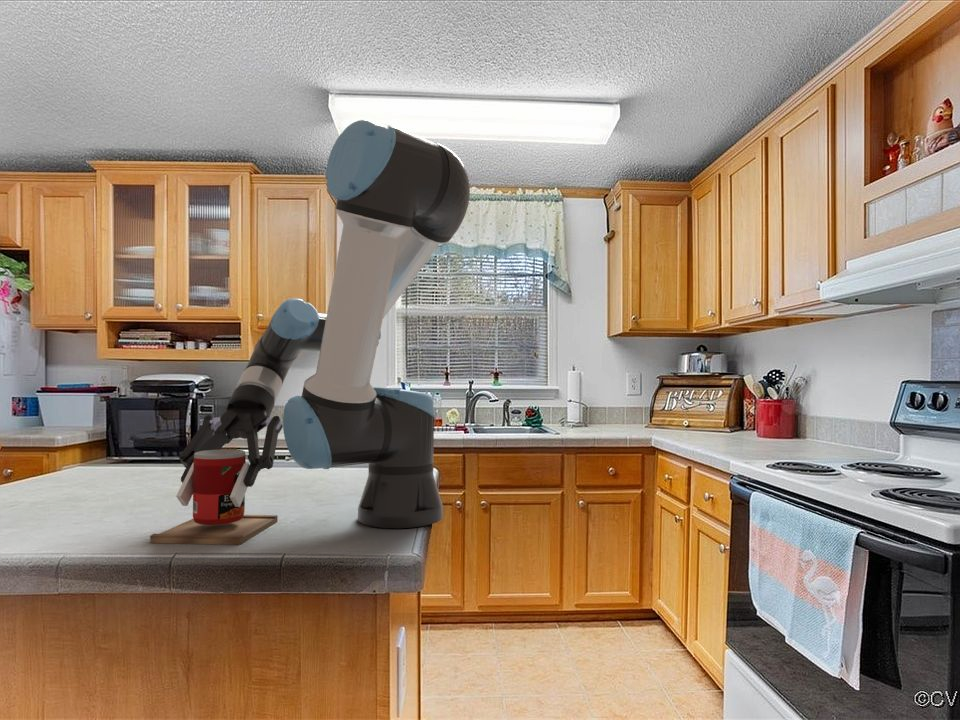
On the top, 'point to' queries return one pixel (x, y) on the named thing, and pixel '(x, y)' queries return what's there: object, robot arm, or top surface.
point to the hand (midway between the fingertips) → (208, 501)
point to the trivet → (216, 531)
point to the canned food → (216, 486)
